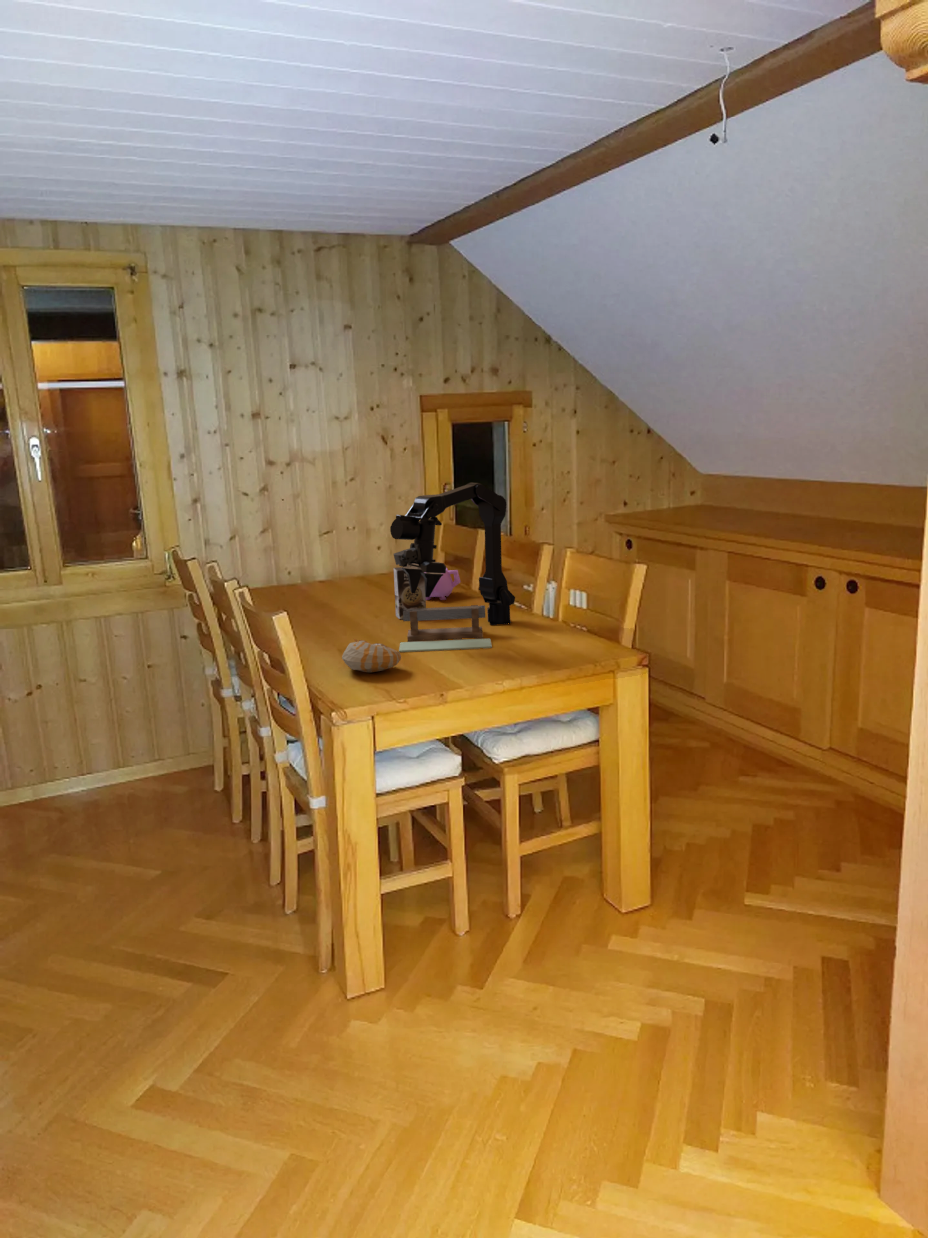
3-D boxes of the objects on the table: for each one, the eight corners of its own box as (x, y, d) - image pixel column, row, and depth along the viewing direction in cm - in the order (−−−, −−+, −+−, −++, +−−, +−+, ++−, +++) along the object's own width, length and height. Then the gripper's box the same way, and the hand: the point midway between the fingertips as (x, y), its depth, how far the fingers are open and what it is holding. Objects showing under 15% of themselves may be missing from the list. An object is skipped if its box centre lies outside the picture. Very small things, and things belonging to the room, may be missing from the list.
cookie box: (399, 620, 299) (396, 570, 296) (395, 615, 305) (392, 567, 302) (427, 617, 302) (424, 568, 298) (422, 613, 308) (420, 564, 304)
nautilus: (335, 663, 255) (389, 659, 259) (346, 679, 235) (405, 676, 239) (334, 634, 254) (389, 631, 258) (345, 648, 234) (404, 645, 238)
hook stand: (481, 631, 280) (480, 603, 278) (483, 638, 273) (481, 609, 271) (408, 634, 280) (407, 607, 278) (407, 641, 272) (406, 613, 270)
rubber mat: (490, 640, 270) (490, 638, 270) (491, 648, 262) (491, 646, 261) (400, 644, 270) (400, 642, 270) (398, 652, 261) (398, 650, 261)
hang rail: (485, 615, 277) (484, 605, 276) (485, 617, 274) (485, 607, 273) (403, 618, 276) (403, 609, 276) (403, 621, 274) (402, 611, 273)
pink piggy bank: (456, 603, 321) (455, 569, 318) (407, 603, 324) (405, 570, 321) (464, 592, 338) (463, 560, 335) (417, 592, 341) (415, 560, 338)
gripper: (384, 536, 270) (381, 590, 272) (412, 541, 254) (408, 598, 255) (419, 538, 275) (415, 591, 277) (449, 543, 259) (444, 599, 261)
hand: (420, 595), depth 267 cm, fingers open, 9 cm apart
